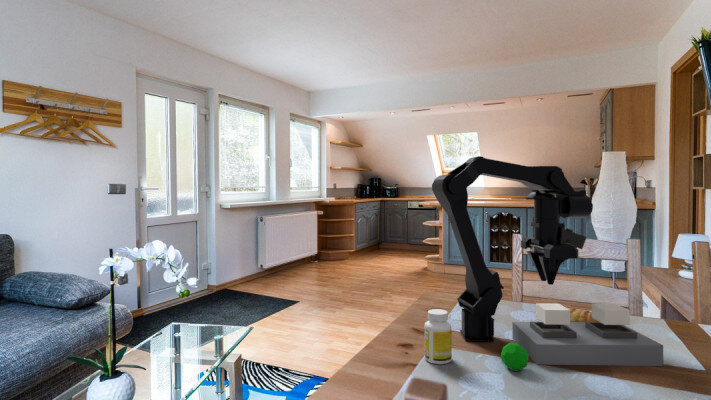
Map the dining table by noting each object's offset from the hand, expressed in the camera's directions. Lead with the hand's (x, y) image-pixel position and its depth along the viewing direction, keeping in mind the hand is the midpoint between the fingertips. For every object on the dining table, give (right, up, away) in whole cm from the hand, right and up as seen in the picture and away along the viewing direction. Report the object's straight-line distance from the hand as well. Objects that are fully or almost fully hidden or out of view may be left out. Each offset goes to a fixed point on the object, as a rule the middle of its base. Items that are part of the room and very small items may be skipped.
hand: (547, 282), depth 97 cm
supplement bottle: (-30, -13, -15) cm, 36 cm away
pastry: (+13, -12, +6) cm, 19 cm away
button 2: (+7, -6, -12) cm, 15 cm away
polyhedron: (-16, -13, -20) cm, 29 cm away
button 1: (-5, -6, -12) cm, 14 cm away
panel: (+2, -12, -12) cm, 17 cm away
